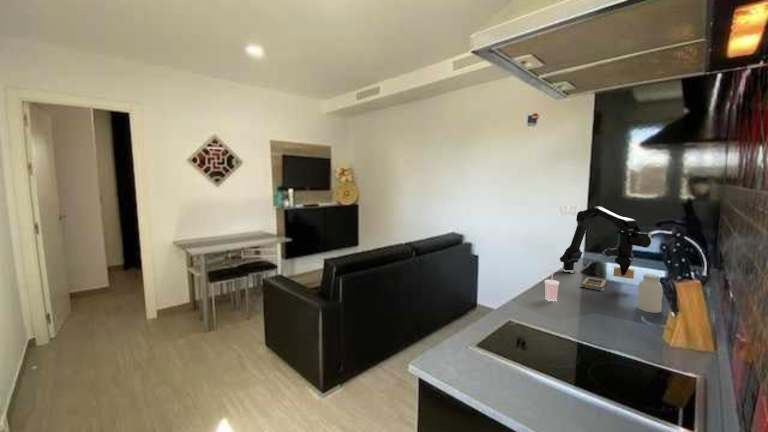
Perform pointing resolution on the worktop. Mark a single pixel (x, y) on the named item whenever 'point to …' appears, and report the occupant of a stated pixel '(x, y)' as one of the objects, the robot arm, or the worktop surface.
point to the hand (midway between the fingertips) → (623, 274)
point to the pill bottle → (650, 294)
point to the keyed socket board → (594, 285)
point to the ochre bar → (627, 275)
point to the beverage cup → (551, 289)
